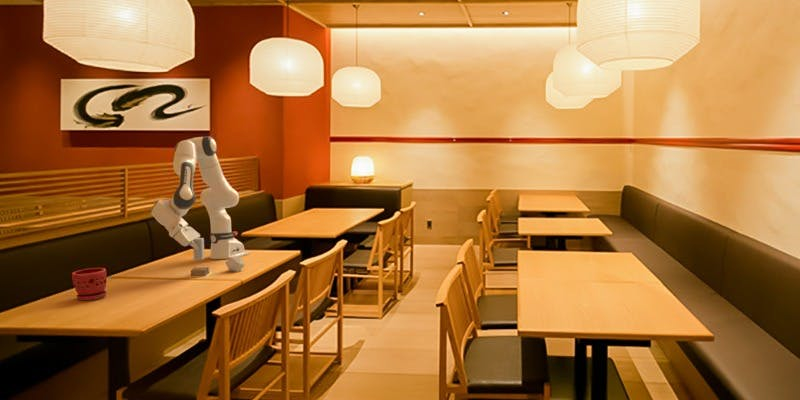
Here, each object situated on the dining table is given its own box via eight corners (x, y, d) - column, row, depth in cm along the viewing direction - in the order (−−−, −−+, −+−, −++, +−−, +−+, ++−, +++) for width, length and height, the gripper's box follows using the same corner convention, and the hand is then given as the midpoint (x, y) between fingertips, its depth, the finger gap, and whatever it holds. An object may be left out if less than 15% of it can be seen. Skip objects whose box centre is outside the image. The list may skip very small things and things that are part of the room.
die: (248, 271, 333) (242, 255, 337) (242, 266, 326) (237, 249, 329) (232, 278, 333) (227, 261, 337) (227, 273, 325) (221, 255, 329)
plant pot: (98, 293, 290) (96, 266, 289) (113, 297, 282) (111, 269, 281) (68, 299, 280) (66, 271, 279) (82, 303, 272) (80, 274, 271)
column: (196, 258, 324) (195, 237, 323) (204, 258, 324) (203, 237, 323) (193, 259, 320) (193, 239, 319) (202, 259, 320) (201, 239, 319)
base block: (195, 273, 326) (194, 267, 326) (209, 273, 327) (209, 267, 326) (191, 276, 320) (190, 270, 319) (205, 276, 320) (205, 269, 319)
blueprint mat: (205, 271, 333) (204, 270, 333) (222, 273, 326) (222, 273, 326) (181, 276, 321) (181, 275, 321) (198, 279, 314) (198, 278, 314)
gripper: (181, 229, 331) (201, 248, 332) (167, 235, 311) (189, 256, 312) (189, 220, 331) (210, 239, 332) (177, 226, 310) (198, 246, 312)
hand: (200, 247), depth 322 cm, fingers closed on column, 4 cm apart
